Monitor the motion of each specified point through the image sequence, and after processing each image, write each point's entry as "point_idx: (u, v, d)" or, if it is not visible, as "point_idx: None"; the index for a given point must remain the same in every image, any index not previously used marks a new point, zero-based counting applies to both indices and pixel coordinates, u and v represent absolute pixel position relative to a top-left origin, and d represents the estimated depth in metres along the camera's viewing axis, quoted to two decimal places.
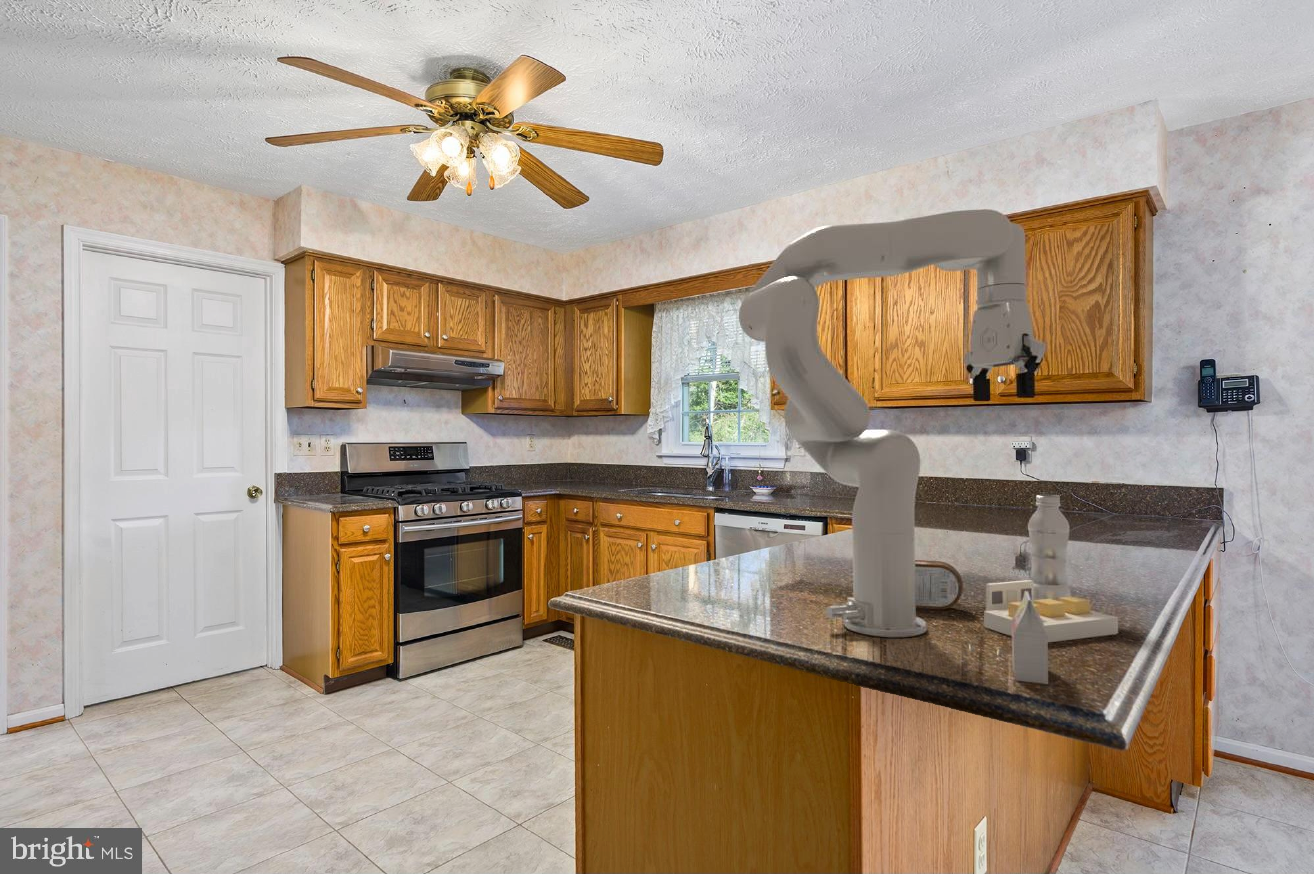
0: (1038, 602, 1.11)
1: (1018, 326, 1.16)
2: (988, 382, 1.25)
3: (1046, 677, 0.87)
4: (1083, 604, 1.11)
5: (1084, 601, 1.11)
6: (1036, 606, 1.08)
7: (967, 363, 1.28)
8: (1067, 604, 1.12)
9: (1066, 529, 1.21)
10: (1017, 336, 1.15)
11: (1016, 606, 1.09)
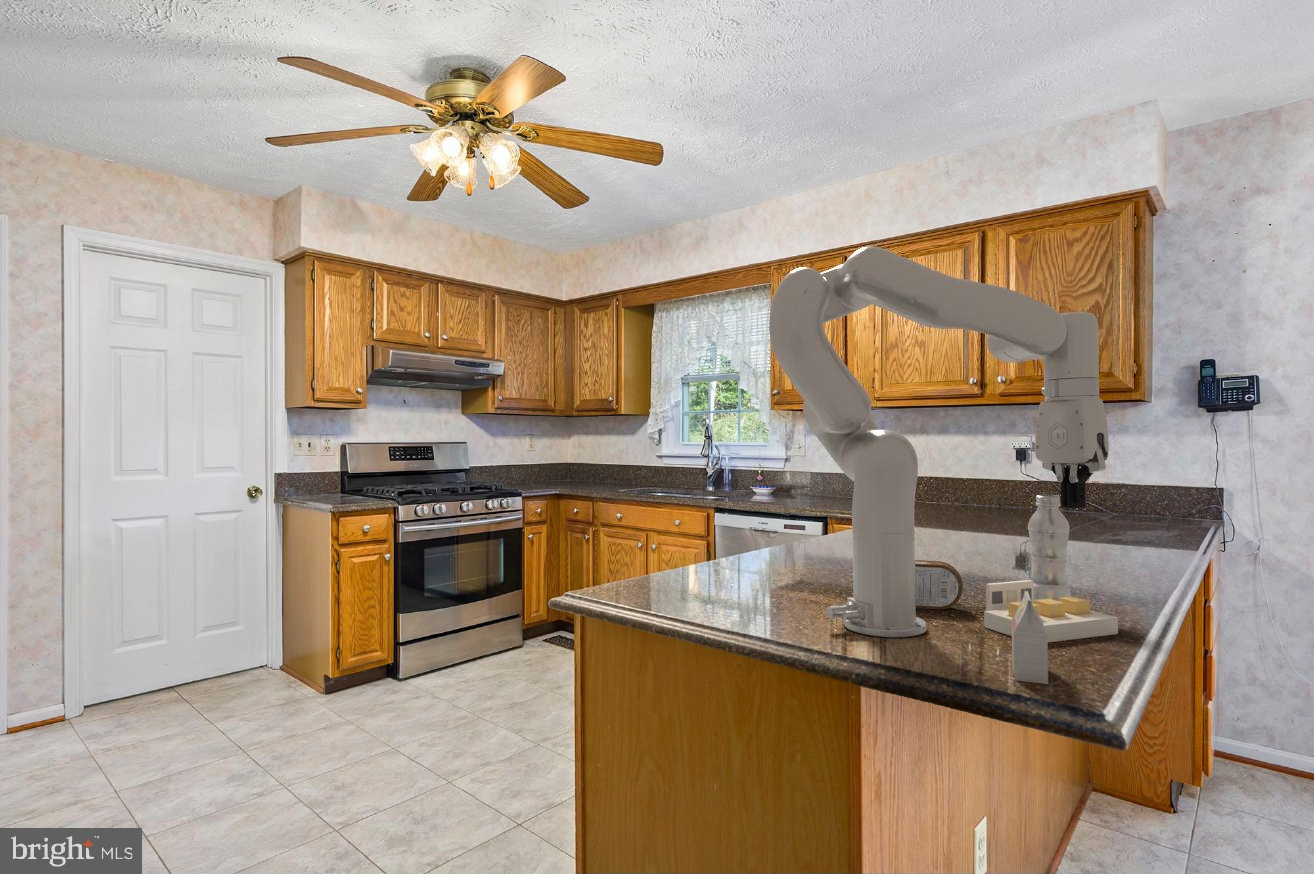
0: (1038, 602, 1.11)
1: (1093, 425, 1.07)
2: None
3: (1046, 677, 0.87)
4: (1083, 604, 1.11)
5: (1084, 601, 1.11)
6: (1036, 606, 1.08)
7: (1050, 467, 1.16)
8: (1067, 604, 1.12)
9: (1066, 529, 1.21)
10: (1092, 436, 1.07)
11: (1016, 606, 1.09)
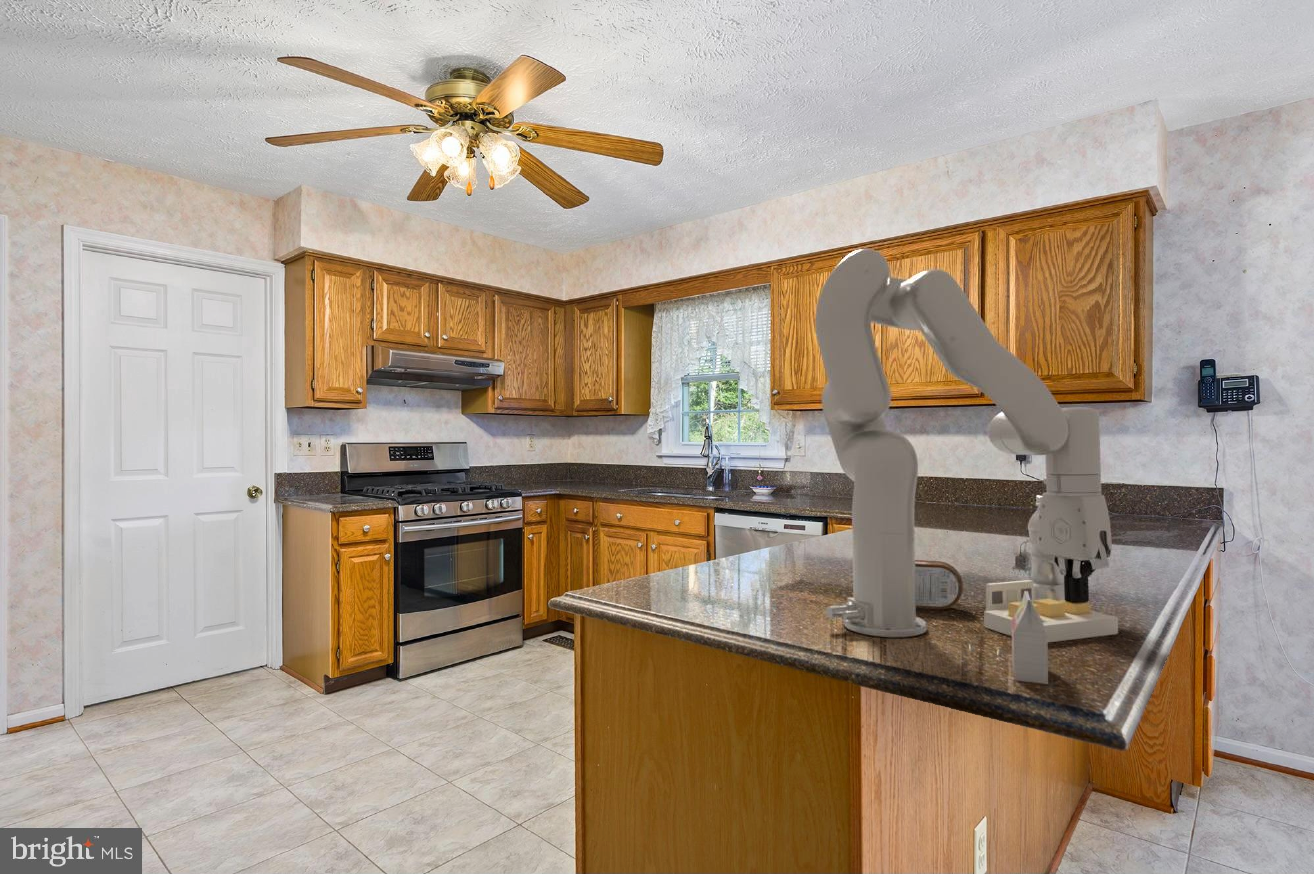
0: (1038, 602, 1.11)
1: (1095, 523, 1.07)
2: None
3: (1046, 677, 0.87)
4: (1083, 607, 1.11)
5: (1084, 604, 1.11)
6: (1036, 606, 1.08)
7: (1053, 558, 1.16)
8: (1067, 607, 1.12)
9: None
10: (1094, 534, 1.07)
11: (1016, 606, 1.09)
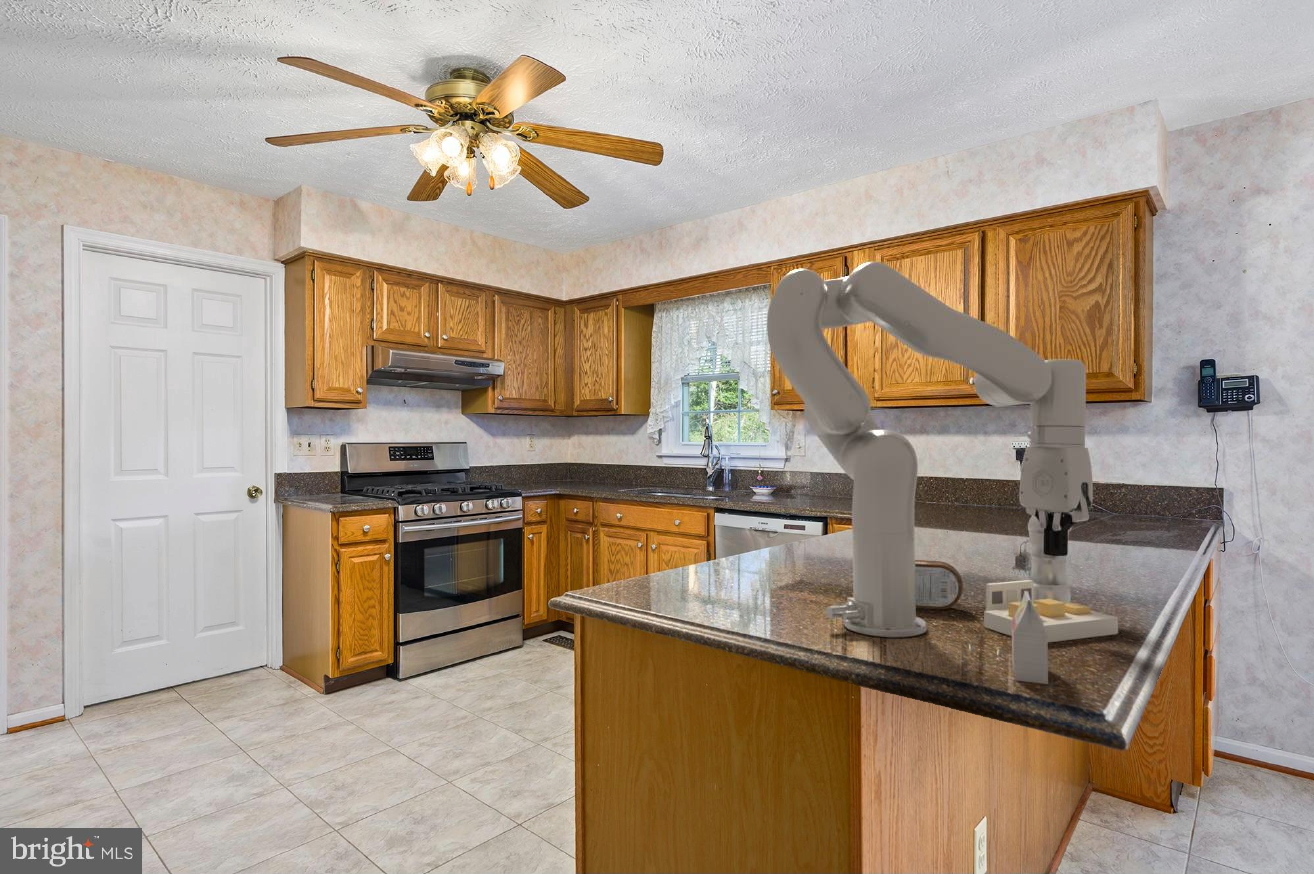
0: (1038, 602, 1.11)
1: (1077, 474, 1.06)
2: None
3: (1046, 677, 0.87)
4: (1083, 611, 1.11)
5: (1084, 608, 1.11)
6: (1036, 606, 1.08)
7: (1033, 512, 1.15)
8: (1067, 611, 1.12)
9: None
10: (1076, 485, 1.06)
11: (1016, 606, 1.09)
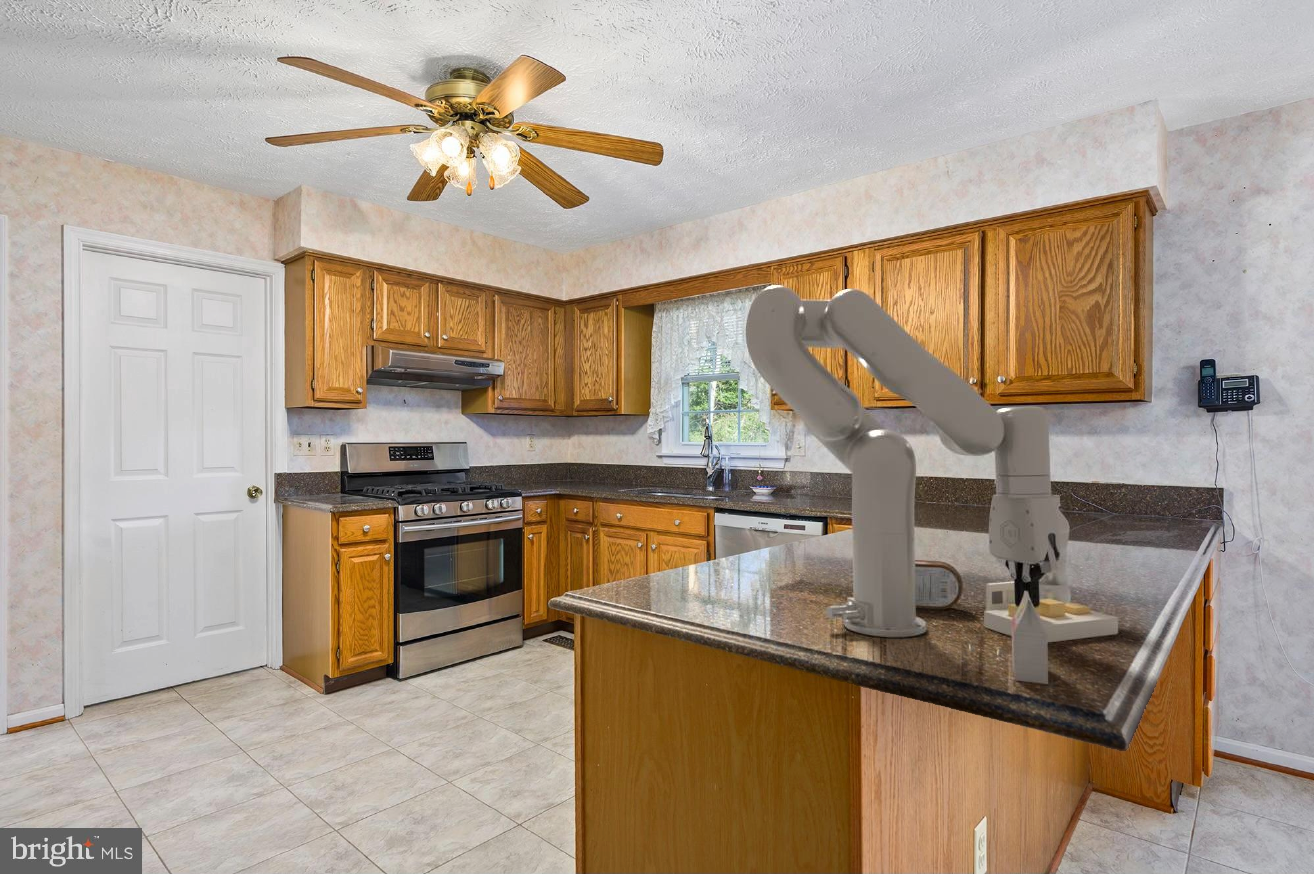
0: None
1: (1043, 526, 1.04)
2: None
3: (1046, 677, 0.87)
4: (1083, 611, 1.11)
5: (1084, 608, 1.11)
6: (1036, 608, 1.08)
7: (1004, 561, 1.13)
8: (1067, 611, 1.12)
9: (1066, 529, 1.20)
10: (1042, 537, 1.04)
11: (1016, 608, 1.09)
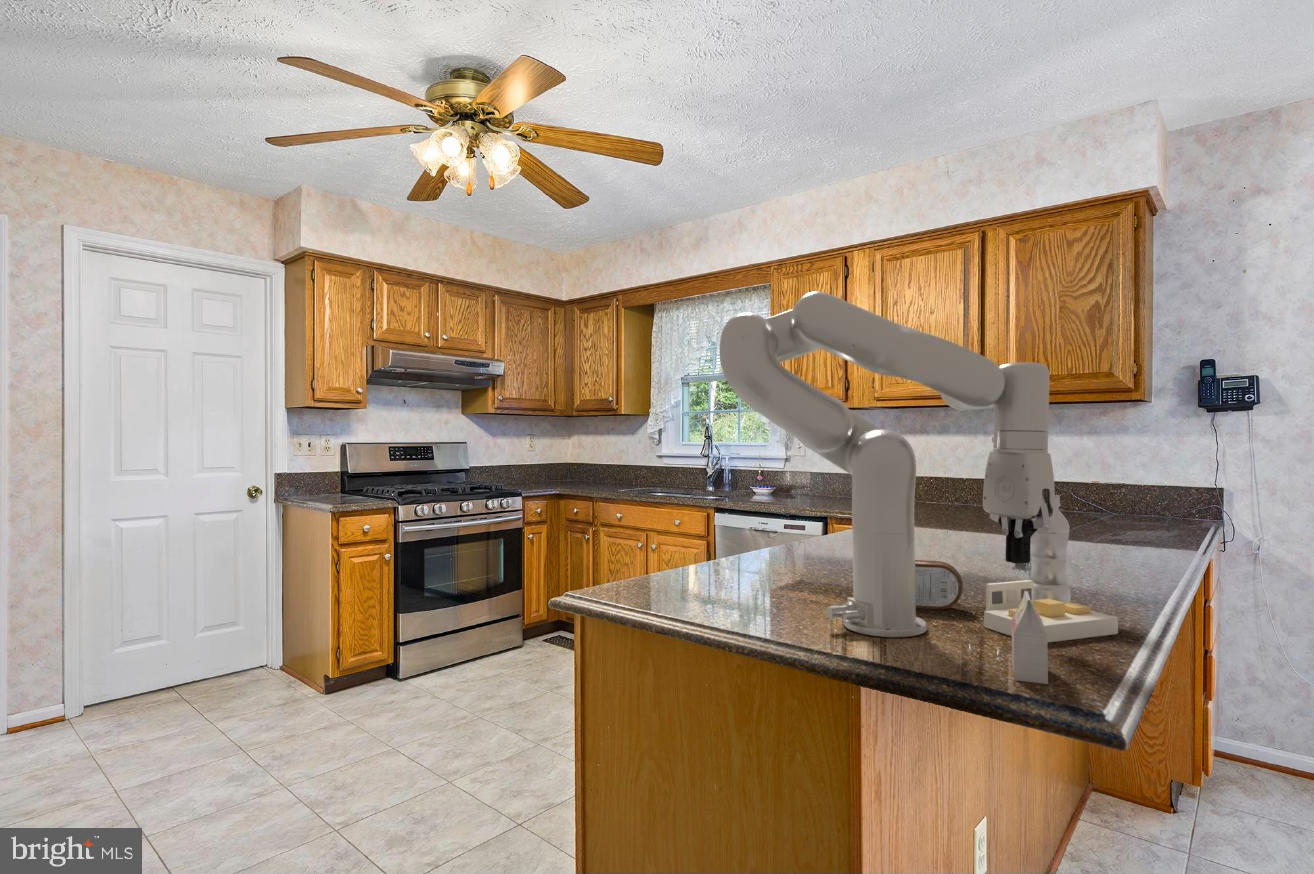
0: (1038, 602, 1.11)
1: (1038, 480, 1.04)
2: None
3: (1046, 677, 0.87)
4: (1083, 611, 1.11)
5: (1084, 608, 1.11)
6: None
7: (997, 518, 1.13)
8: (1067, 611, 1.12)
9: (1066, 529, 1.21)
10: (1037, 492, 1.04)
11: None
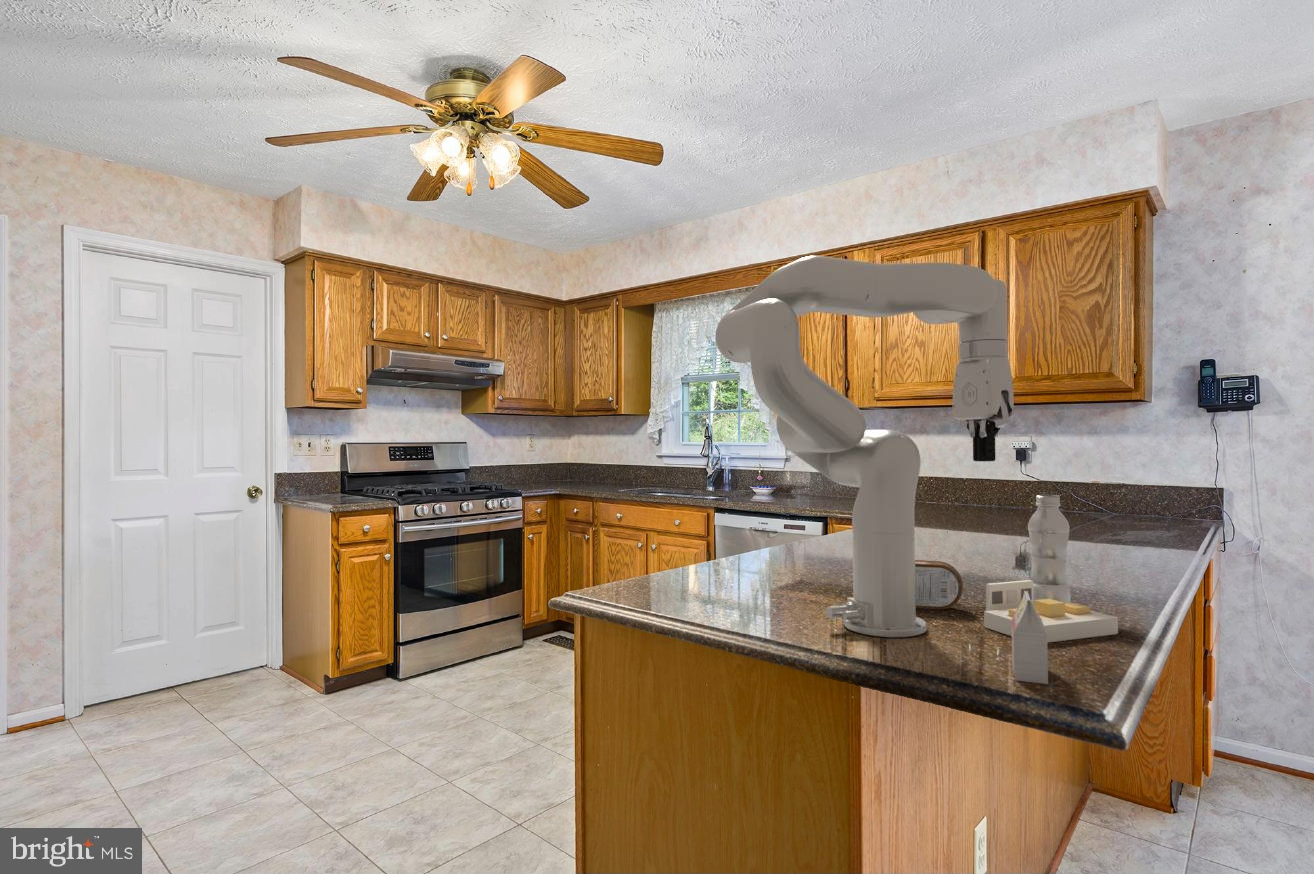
0: (1038, 602, 1.11)
1: (997, 383, 1.16)
2: None
3: (1046, 677, 0.87)
4: (1083, 611, 1.11)
5: (1084, 608, 1.11)
6: None
7: (966, 424, 1.24)
8: (1067, 611, 1.12)
9: (1066, 529, 1.21)
10: (996, 393, 1.16)
11: None
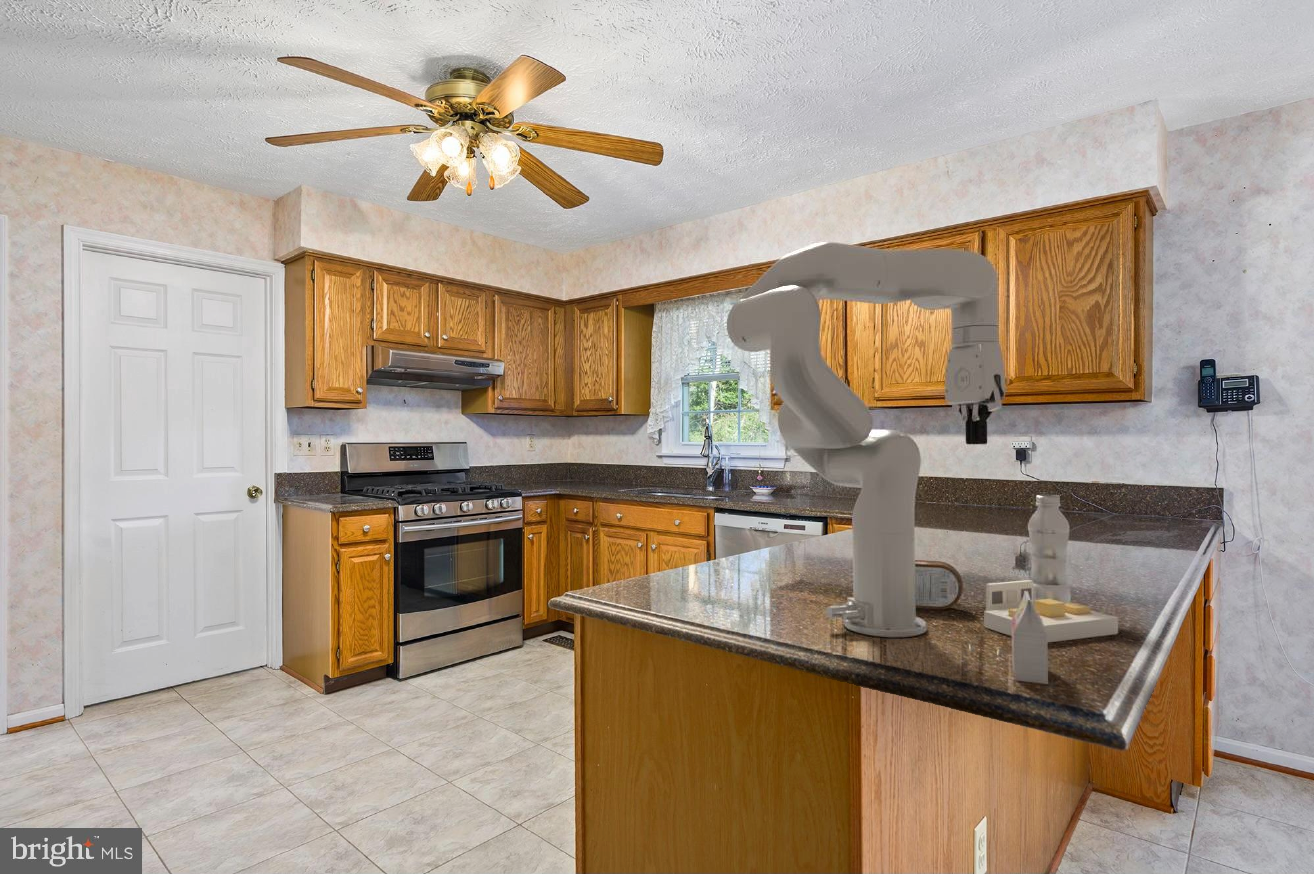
0: (1038, 602, 1.11)
1: (990, 367, 1.19)
2: None
3: (1046, 677, 0.87)
4: (1083, 611, 1.11)
5: (1084, 608, 1.11)
6: None
7: (958, 409, 1.27)
8: (1067, 611, 1.12)
9: (1066, 529, 1.21)
10: (989, 377, 1.19)
11: None
